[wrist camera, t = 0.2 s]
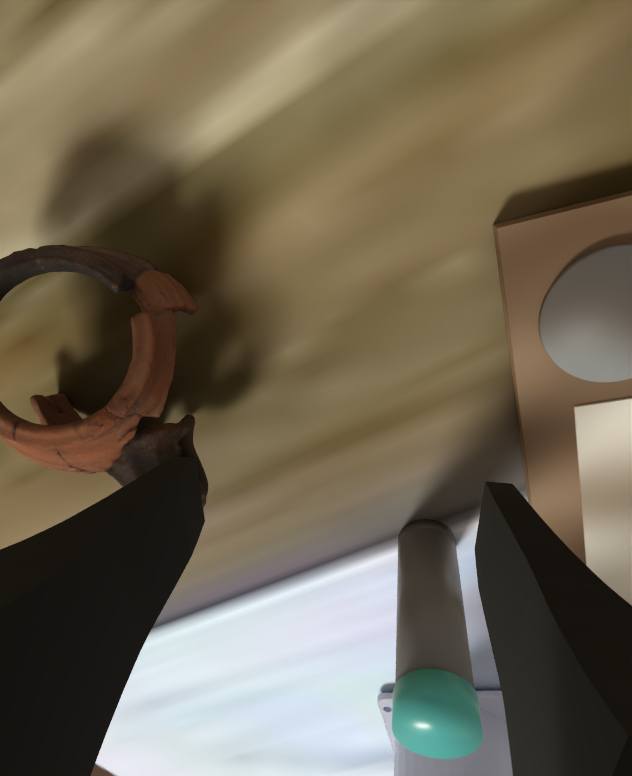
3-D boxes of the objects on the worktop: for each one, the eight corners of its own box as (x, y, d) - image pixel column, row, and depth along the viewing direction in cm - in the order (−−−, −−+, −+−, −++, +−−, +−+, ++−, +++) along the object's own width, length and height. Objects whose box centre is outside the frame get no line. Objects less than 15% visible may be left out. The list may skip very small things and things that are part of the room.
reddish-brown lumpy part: (9, 367, 25) (-141, 340, 17) (149, 246, 26) (70, 162, 18) (163, 546, 25) (85, 608, 16) (304, 418, 25) (297, 416, 17)
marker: (461, 561, 25) (488, 759, 17) (402, 566, 26) (401, 758, 18) (452, 514, 24) (476, 702, 16) (391, 521, 25) (383, 703, 17)
